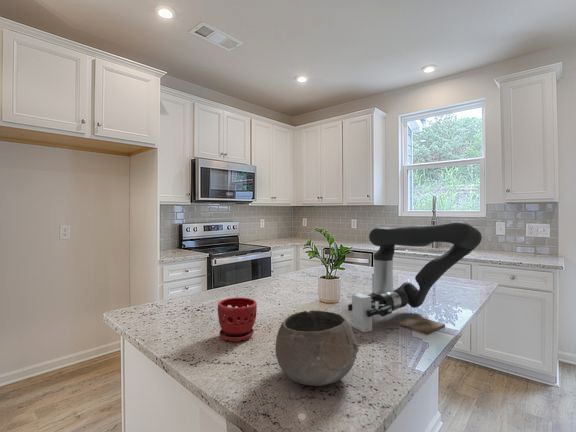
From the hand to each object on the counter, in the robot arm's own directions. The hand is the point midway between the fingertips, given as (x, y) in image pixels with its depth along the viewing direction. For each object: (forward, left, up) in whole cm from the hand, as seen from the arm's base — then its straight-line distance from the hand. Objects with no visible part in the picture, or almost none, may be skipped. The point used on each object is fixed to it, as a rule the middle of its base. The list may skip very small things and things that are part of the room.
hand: (357, 310), depth 112 cm
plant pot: (-22, -36, -7) cm, 43 cm away
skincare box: (0, +2, -7) cm, 8 cm away
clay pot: (+14, -32, -7) cm, 35 cm away
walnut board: (+11, +21, -7) cm, 25 cm away
